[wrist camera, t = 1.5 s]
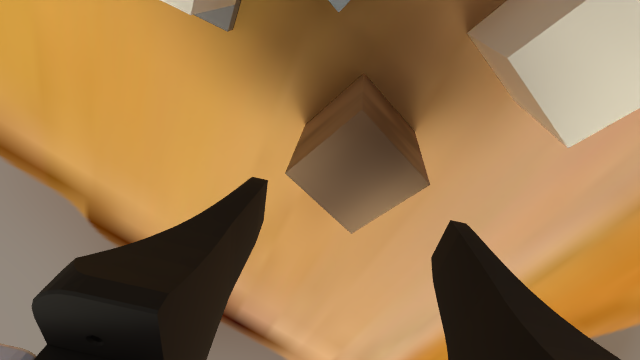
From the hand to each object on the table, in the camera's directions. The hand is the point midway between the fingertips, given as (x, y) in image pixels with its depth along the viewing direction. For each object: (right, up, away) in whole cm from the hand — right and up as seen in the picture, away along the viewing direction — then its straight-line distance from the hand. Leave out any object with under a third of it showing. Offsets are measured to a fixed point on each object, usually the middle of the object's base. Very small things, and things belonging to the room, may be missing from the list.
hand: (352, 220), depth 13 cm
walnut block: (+1, +5, +8) cm, 9 cm away
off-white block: (+10, +9, +4) cm, 14 cm away
